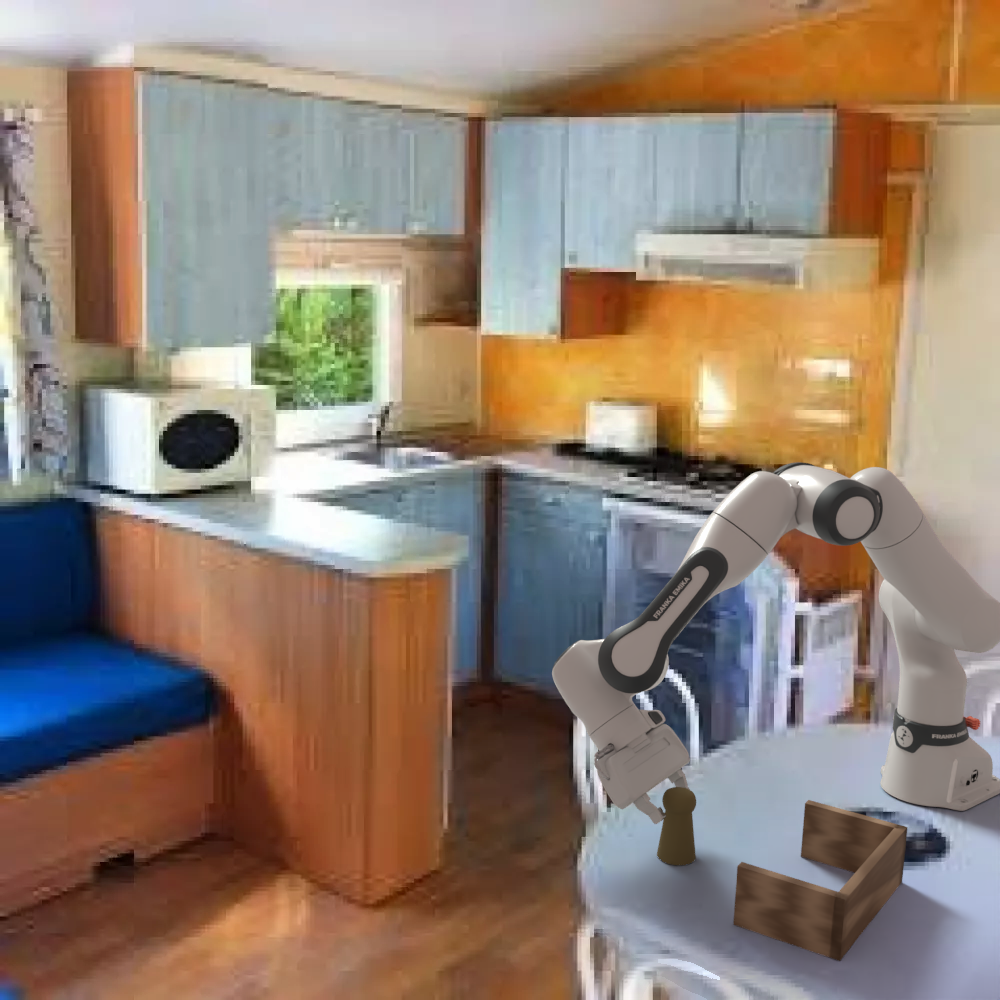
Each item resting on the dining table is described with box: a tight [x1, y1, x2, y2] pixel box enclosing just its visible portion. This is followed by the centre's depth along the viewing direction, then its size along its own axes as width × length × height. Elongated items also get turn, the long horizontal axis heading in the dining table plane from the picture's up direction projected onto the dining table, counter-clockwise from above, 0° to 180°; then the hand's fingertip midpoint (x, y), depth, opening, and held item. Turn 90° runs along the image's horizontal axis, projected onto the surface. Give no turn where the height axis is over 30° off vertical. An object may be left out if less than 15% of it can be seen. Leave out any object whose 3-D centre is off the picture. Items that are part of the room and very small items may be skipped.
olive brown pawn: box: [656, 786, 697, 866], centre depth 200 cm, size 6×6×11 cm
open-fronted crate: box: [733, 799, 908, 962], centre depth 187 cm, size 16×27×9 cm, turn 146°
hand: (675, 810), depth 200 cm, fingers open, 8 cm apart
